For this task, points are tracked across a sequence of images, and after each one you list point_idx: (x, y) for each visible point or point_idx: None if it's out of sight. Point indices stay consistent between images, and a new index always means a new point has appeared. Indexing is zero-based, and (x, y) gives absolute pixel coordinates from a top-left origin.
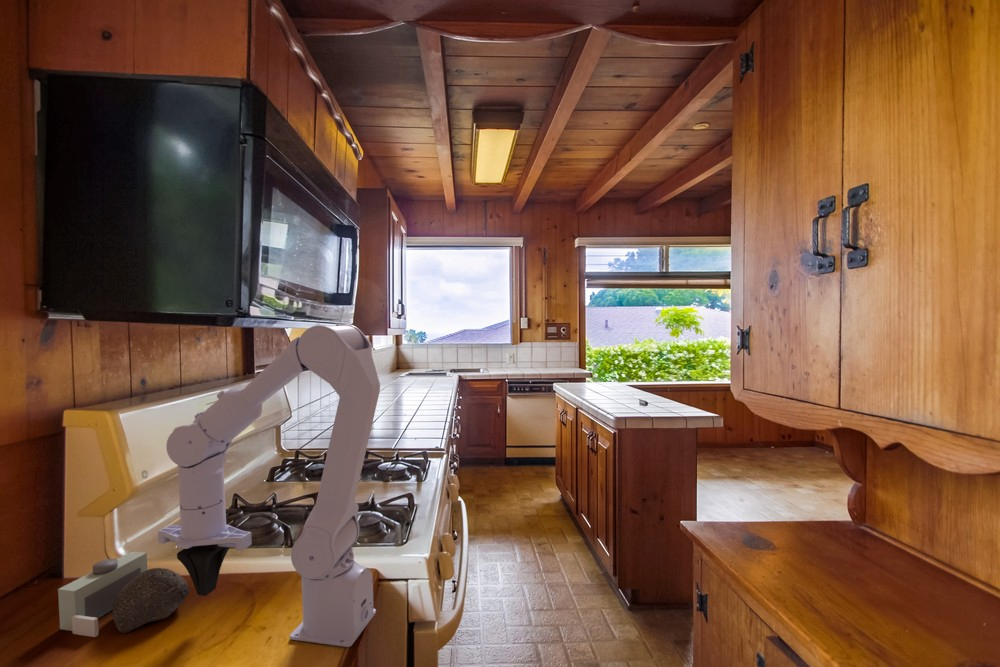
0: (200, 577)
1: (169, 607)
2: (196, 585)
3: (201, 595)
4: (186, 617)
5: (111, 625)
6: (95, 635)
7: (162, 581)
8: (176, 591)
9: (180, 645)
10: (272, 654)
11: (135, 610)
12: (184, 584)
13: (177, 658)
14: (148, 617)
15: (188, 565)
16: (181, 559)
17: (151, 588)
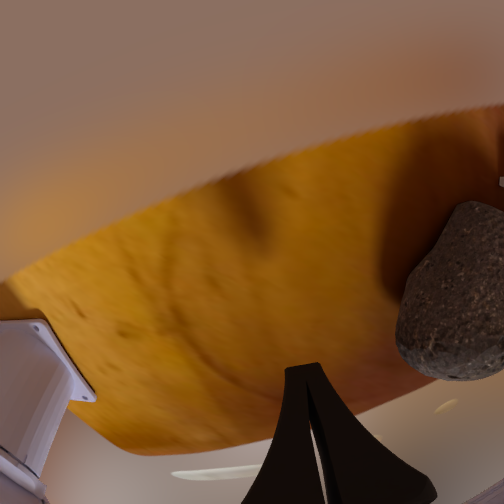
0: (297, 426)
1: (409, 300)
2: (320, 391)
3: (302, 365)
4: (361, 302)
5: None
6: (501, 178)
7: (467, 348)
8: (417, 343)
9: (265, 220)
10: (31, 277)
11: (475, 247)
12: (416, 366)
13: (214, 179)
14: (437, 255)
15: (362, 462)
16: (399, 483)
17: (481, 315)
